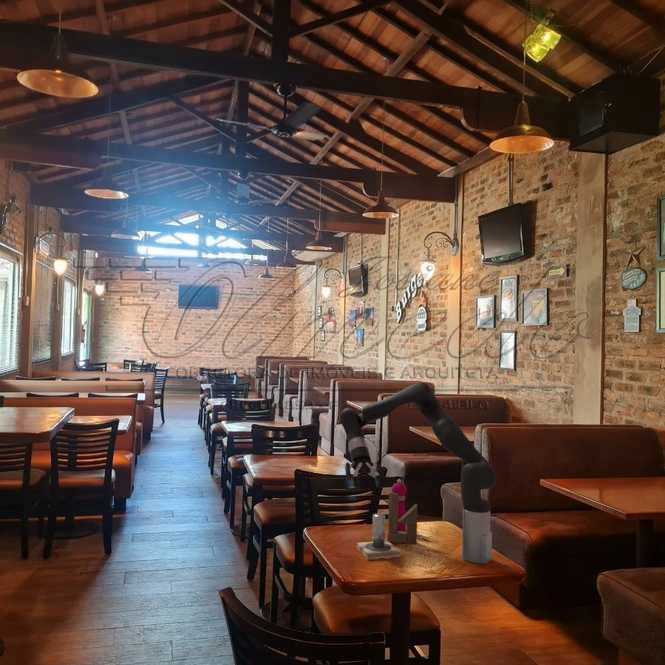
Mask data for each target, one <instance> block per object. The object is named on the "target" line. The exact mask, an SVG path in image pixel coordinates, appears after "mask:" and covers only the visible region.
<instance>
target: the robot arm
mask: <svg viewBox="0 0 665 665" xmlns="http://www.w3.org/2000/svg"><path fill="white" fill-rule="evenodd" d="M410 403H411V404H413V406H414V407H415V408H416V409H417V410H418V411H419V412H420V413H421V414H422V415H423V417H424V418H425V419H426V420H427V421H428V422H429V424H430V427H431V430H432V432H433V434H434V435H435V437H436V439H437V440H438V442H440V444H441V446H442V447H443V448H444V449H445V450H446V451H448V452H449V453H451V454H452V455H453V456H456V457H457V458H459V459H460V460H461V461H463V462H464V463H465V465H463V467H462V468H461V472H460V489H461V490H460V491H461V493H460V496H461V501H462V502H461V503H462V509H463V510H462V543H461V544H462V547H461V548H462V549H461V556H462V557H461V558H462V560H464V561H466V562H468V563H473V564H483V565H486V564H487V563H489V562H490V561H491V560H492V556H493V555H492V550H493V549H492V547H493V546H492V545H493V544H492V543H493V542H492V541H493V532H492V531H491V502H490V501H489V500H487V499H484V498H482V496H481V490H488V489H491V488H493V487H495V485H496V484H497V472H496V471H495V469H494V467H493V466H492V464H491V463H490V462H489V461H488V460H487V459H486V458H485V457H484V455H482V454H481V453H480V451H479V450H478V449H477V448H476V446H474V445H473V444H472V442H471V441H470V439H469V438H468V437H467V436H466V435H465V433H464V431H463V430H462V429H461V427H460V426H459V424H458V423H457V422H456V421H455V420H454V418H452V417H451V416H450V415H449V414H448V413H446V412H445V411H444V409H443V408H442V406H441V404H440V402H439V401H438V399H437V396H436V395H435V393H434V391H433V390H432V388H431V387H430V386H429V384H428V383H426V382H424V381H423V382H422V381H421V382H419V381H418V382H416V383H414V384H411V385H410V386H407V387H405V388H403V389H402V390H399V391H398V392H396V393H394V394H392V395H390V396H388V397H386V398H383V399H381V400H378V401H375V402H372V403H369V404H366V405H363V407H362V410H361V413H360V414H359V413H358V412H357V411H356V410H355V409H354V408H352V407H346V408H344V409H343V410H342V411H341V412H340V422H341V425H342V427H343V430H344V432H345V435H346V440H347V443H348V450H349V454H350V455H349V456H350V460H351V463H350V462H345V465H344V466H345V467H344V469H345V477H346V479H347V480H349V479H350V480H351V482H352V485H353V487H354V488H355V489H358V488H359V482H358V477H357V476H358V475H369V476H371V477H373V478H374V481H375V485H376V488H379V487H380V486H381V483H382V482H381V478H382V477H383V475H384V470H383V467H382V466H381V462H380V461H379V460H377V461H376V462H373V461H372V459H371V458H372V457H371V454H370V451H369V447H368V443H367V441H366V437H365V434H364V431H363V429H362V428H364V427H365V426H367V425H369V424H370V423H371V422H375V421H378V420H380V419H384V418H385V417H387V416H389V415H390V414H392V413H393V412H394V411H395V410H396V409H398V408H399V407H401V406H403V405H405V404H410ZM351 469H353V470H354V472H353V474H352V473H351Z"/></svg>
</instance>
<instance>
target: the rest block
mask: <svg viewBox="0 0 665 665" xmlns="http://www.w3.org/2000/svg"><path fill="white" fill-rule="evenodd" d="M356 549H357V550H358V551H359V552H360V554H362V556H363V557H364V556H365V557H366V558H365V557H364V558H365V559H366V561H367V560H368V559H369V560H380V559H379V558H385V559H391V558H390V557H399V558H401V551H400V549H398V548H397V547H396V546H394V545H393V543H390V542H389V541H387V540H385V547H384V548H374V547H372V541H366V542H365V541H364V542H360V541H359V542H356ZM369 560H368V561H369Z"/></svg>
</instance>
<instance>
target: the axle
mask: <svg viewBox="0 0 665 665" xmlns="http://www.w3.org/2000/svg"><path fill="white" fill-rule="evenodd" d="M371 533H372V534H371V535H372V536H371V539H372V540H371V542H372V547H374V548H384V547H385V541H386V540H385V539H386V537H385V536H386V515H385V514H384V513H378V512H377V513H373V514H372V532H371Z"/></svg>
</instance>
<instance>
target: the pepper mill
mask: <svg viewBox="0 0 665 665" xmlns="http://www.w3.org/2000/svg"><path fill="white" fill-rule="evenodd" d="M402 482H403V480H401V479H400V478H398V479H397V482H395V483H394V484H393V485H392V487H391V493H397V494H398V495H399V499H398V520H399V519H400V518H401V517H402V516H403V515H404V514H406V513H407V511H406V509H405V500H406V495H405V494H407V490H408V489H407V487H406V486H407V485H405V484H404V483H402ZM403 530H405V531H406V524H398V531H402V532H404V531H403Z"/></svg>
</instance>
